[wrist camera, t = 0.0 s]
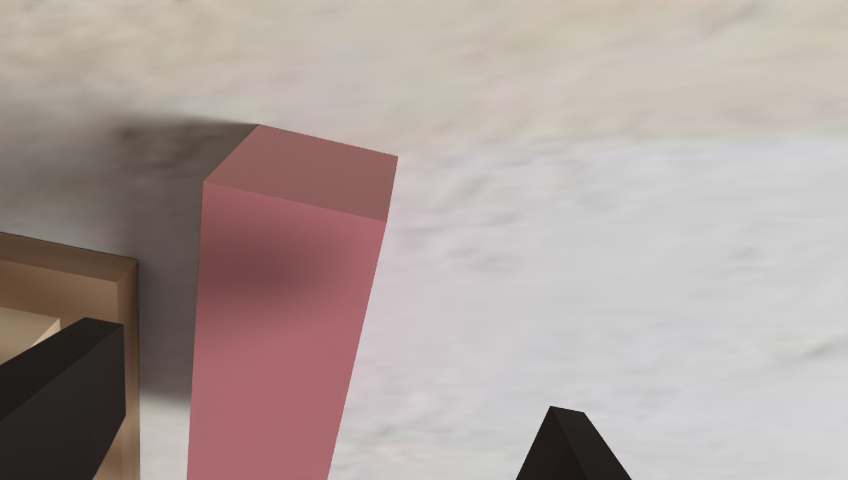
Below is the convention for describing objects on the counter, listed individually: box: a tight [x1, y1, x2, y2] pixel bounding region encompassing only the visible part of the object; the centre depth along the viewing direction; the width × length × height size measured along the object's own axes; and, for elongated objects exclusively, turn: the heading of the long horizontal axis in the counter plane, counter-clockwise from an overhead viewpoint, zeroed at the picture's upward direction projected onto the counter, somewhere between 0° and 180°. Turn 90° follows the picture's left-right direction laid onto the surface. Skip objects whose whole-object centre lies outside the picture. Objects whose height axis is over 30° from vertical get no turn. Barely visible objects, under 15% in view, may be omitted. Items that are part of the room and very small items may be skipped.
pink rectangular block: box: [187, 124, 398, 480], centre depth 19 cm, size 12×4×5 cm, turn 167°
